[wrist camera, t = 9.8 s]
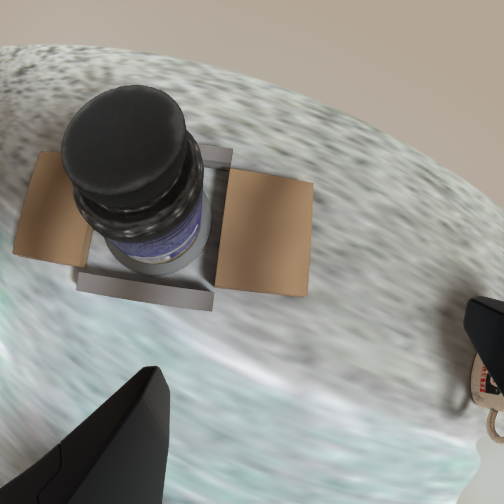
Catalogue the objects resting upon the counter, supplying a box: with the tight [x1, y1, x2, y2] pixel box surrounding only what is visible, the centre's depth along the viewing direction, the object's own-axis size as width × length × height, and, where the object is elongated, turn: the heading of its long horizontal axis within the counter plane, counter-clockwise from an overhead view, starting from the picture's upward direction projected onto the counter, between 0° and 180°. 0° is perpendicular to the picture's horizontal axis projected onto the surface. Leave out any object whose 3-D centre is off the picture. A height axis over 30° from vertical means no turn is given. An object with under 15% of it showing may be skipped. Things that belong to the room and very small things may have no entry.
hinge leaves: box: [13, 144, 313, 311], centre depth 19 cm, size 21×11×1 cm, turn 84°
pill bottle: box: [61, 85, 204, 265], centre depth 14 cm, size 6×6×11 cm
